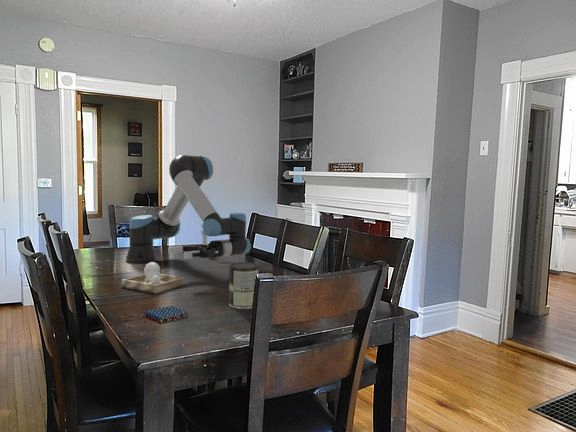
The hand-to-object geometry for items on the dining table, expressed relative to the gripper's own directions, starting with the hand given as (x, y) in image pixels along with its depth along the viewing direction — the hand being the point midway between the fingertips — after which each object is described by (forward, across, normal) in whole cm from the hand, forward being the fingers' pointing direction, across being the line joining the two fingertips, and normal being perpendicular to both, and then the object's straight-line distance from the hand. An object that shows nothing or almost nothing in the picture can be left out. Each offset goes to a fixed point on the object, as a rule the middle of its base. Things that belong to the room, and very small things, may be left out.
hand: (176, 252), depth 180 cm
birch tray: (+10, 0, -12) cm, 16 cm away
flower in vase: (-45, +49, -13) cm, 67 cm away
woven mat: (+24, -38, -13) cm, 47 cm away
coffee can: (-3, -43, -12) cm, 45 cm away
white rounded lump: (+11, -2, -12) cm, 16 cm away
